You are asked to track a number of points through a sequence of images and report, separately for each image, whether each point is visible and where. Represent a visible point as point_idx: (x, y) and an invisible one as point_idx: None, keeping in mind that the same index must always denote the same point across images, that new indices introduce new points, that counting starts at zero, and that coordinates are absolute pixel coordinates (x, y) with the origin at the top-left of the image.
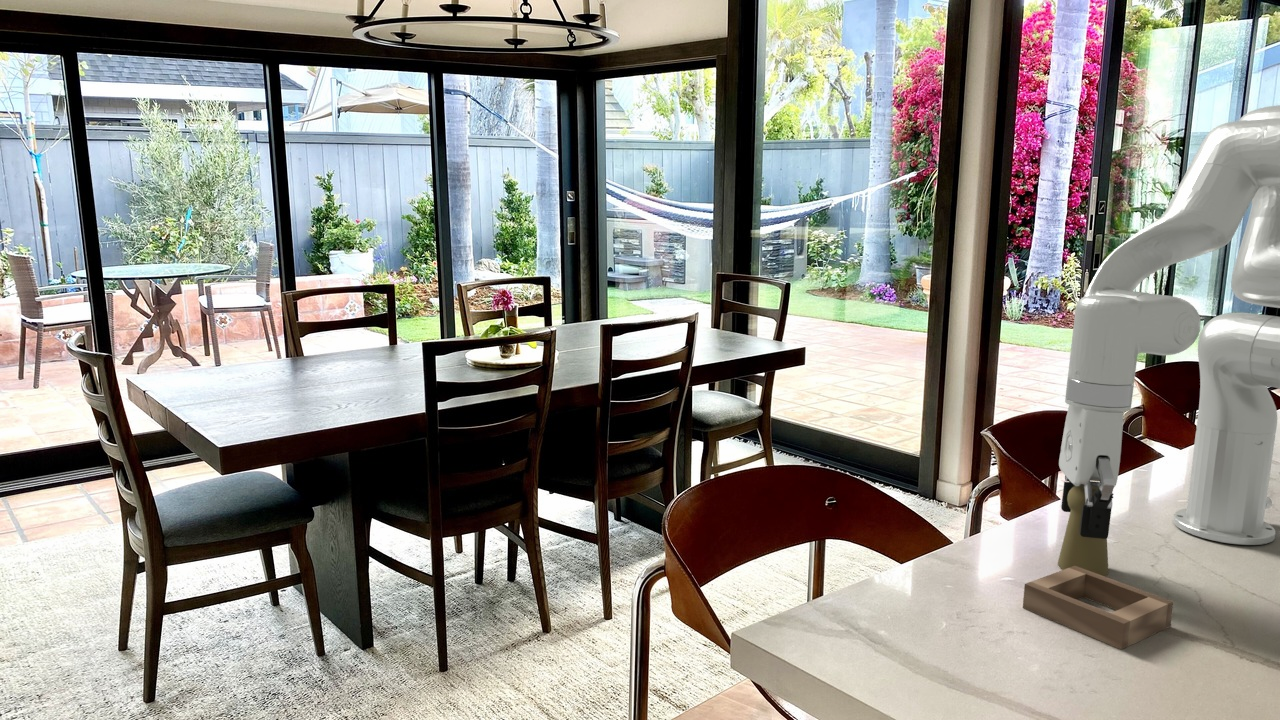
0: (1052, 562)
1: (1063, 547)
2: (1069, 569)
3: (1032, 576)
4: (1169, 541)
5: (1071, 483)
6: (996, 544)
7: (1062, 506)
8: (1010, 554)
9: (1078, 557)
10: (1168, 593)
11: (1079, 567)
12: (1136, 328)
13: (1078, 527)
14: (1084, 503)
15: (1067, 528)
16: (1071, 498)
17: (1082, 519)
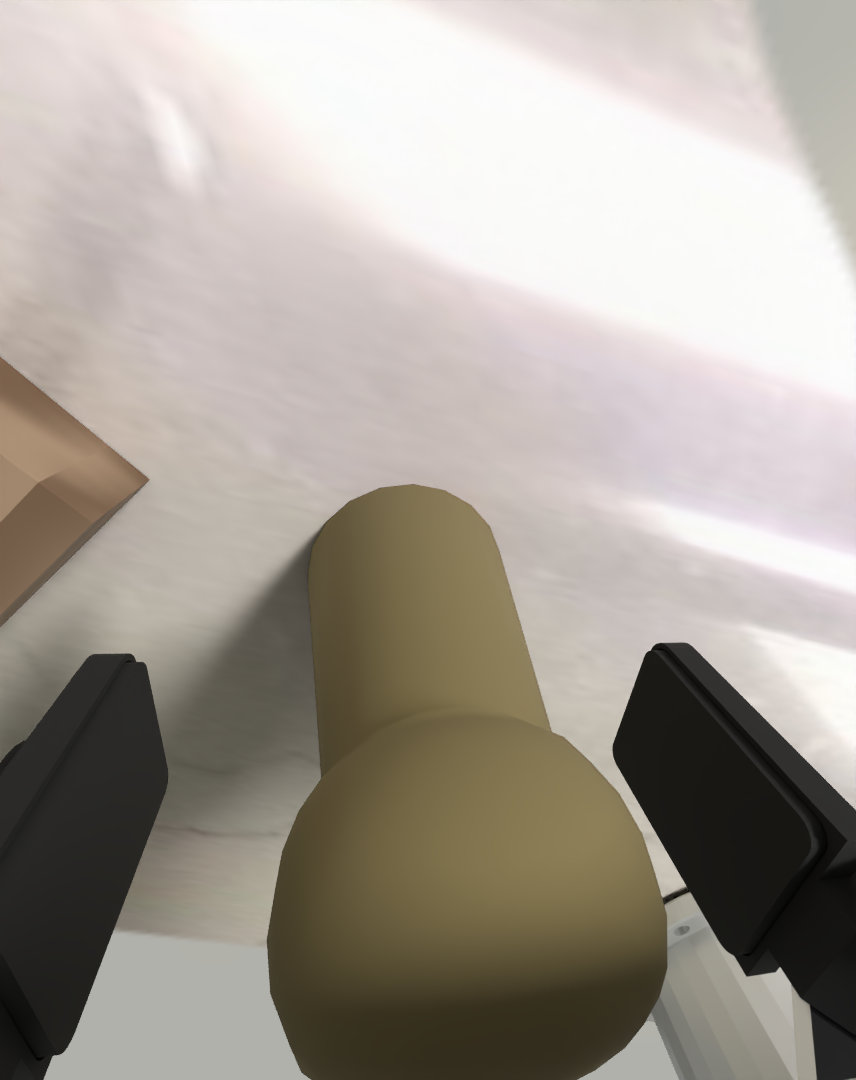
0: (455, 471)
1: (414, 534)
2: (3, 477)
3: (252, 320)
4: (651, 843)
5: (817, 877)
6: (680, 239)
7: (678, 658)
8: (542, 282)
9: (322, 575)
10: (228, 774)
11: (69, 540)
12: None
13: (346, 668)
14: (293, 881)
15: (434, 603)
16: (414, 811)
17: (15, 765)
